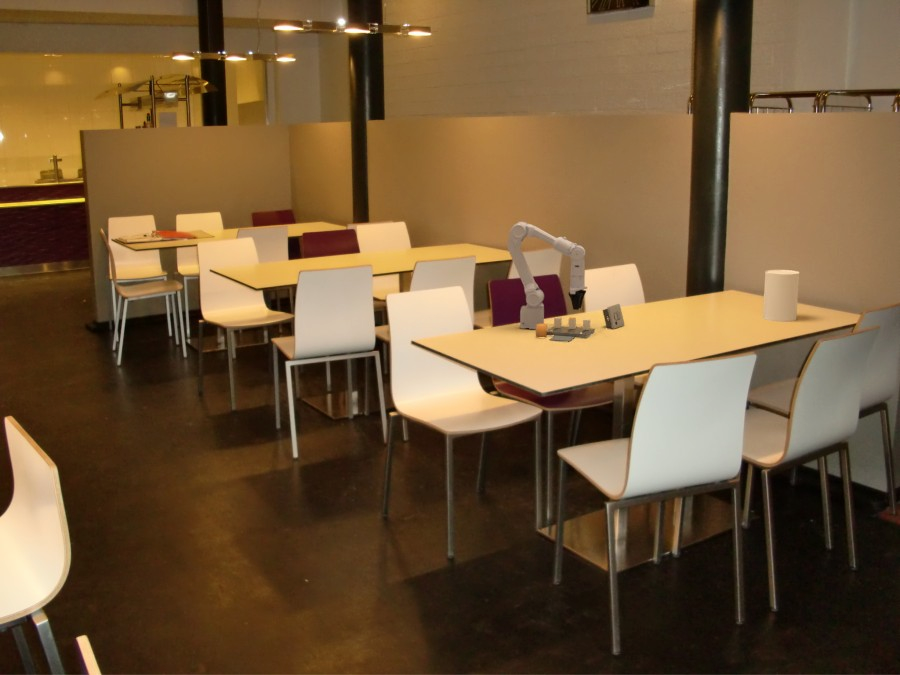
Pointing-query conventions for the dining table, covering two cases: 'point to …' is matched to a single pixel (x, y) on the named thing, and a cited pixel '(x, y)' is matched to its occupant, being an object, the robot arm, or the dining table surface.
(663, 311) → the dining table surface
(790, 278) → the canister
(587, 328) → the block
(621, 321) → the electrical switch
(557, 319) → the block
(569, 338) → the mat
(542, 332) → the cap
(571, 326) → the block
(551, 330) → the panel
